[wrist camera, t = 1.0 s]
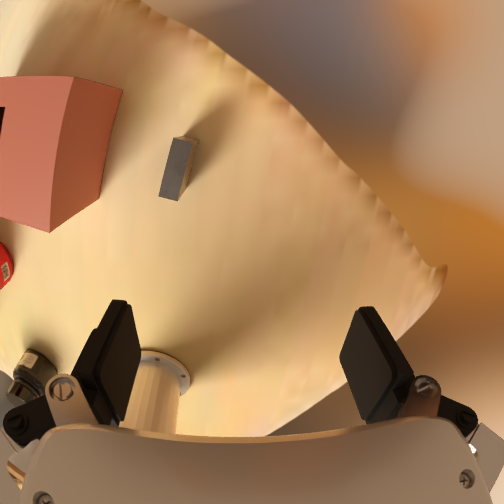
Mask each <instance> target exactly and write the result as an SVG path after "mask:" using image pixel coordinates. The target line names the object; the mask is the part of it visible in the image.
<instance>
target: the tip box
mask: <svg viewBox="0 0 504 504" xmlns="http://www.w3.org/2000/svg"><path fill="white" fill-rule="evenodd" d="M122 91H123V90H121V89H117V88H114V87H111V86H107V85H104V84H100V83H96V82H93V81H89V80H85V79H81V78H77V77H68V76H12V77H0V217H3V218H6V219H9V220H11V221H14V222H17V223H20V224H23V225H26V226H30V227H33V228H36V229H39V230H42V231H45V232H48V233H50V232H51V231H53V230H54V229H56V228H57V227H58V226H60V225H61V224H62V223H64V222H65V221H67V220H68V219H69V218H71V217H72V216H74V215H75V214H77V213H78V212H80V211H81V210H83V209H84V208H86V207H87V206H89V205H90V204H92V203H93V202H95V201H96V200H98V199H99V193H100V187H101V181H102V175H103V169H104V164H105V159H106V154H107V149H108V145H109V140H110V136H111V132H112V127H113V123H114V120H115V116H116V112H117V108H118V105H119V101H120V98H121V95H122Z"/></svg>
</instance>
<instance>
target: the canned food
mask: <svg viewBox="0 0 504 504" xmlns="http://www.w3.org/2000/svg"><path fill="white" fill-rule="evenodd" d="M12 275H13V262H12V259H11V256H10V254H9V252H8V250H7V249H6V247H5V246H4V245H3V244H2V243H1V242H0V290H1V289H2V288H3V287H4V286H5V285H6V284H7V283H8V282H9V281H10V279H11V277H12Z"/></svg>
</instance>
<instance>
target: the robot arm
mask: <svg viewBox="0 0 504 504" xmlns="http://www.w3.org/2000/svg"><path fill="white" fill-rule="evenodd" d="M340 363H341V365H342V368H343V370H344V373H345V375H346V378H347V381H348V383H349V386H350V389H351V391H352V394H353V396H354V399H355V402H356V405H357V407H358V410H359V413H360V415H361V418H362V419H363V420H365V421H366V424H367V425H361V426H356V427H350V428H344V429H338V430H331V431H324V432H316V433H307V434H297V435H285V436H268V437H208V436H190V435H178V434H175V432H176V422H177V413H178V405H179V396H182V395H183V394H185V393H186V392H187V391H188V389H189V387H190V375H189V373H188V371H187V369H186V368H185V367H184V366H183V365H182V364H181V363H180V362H179V361H177V360H176V359H174V358H172V357H170V356H168V355H166V354H163V353H159V352H155V351H141V348H140V344H139V339H138V335H137V331H136V326H135V321H134V317H133V312H132V307H131V305H130V304H127V301H125V300H112V301H111V303H110V305H109V307H108V309H107V310H106V312H105V314H104V316H103V318H102V320H101V322H100V324H99V326H98V328H97V329H96V328H95V329H93V331H92V332H91V334H90V336H89V338H88V340H87V342H86V344H85V346H84V348H83V350H82V352H81V354H80V356H79V358H78V360H77V362H76V364H75V366H74V369H73V371H72V373H71V375H68V374H59V375H56V376H54V377H52V378H51V379H50V380H49V381H48V383H47V384H46V387H45V395H43V396H40V397H38V398H36V399H34V400H32V401H29V402H27V403H25V404H23V405H20V406H18V407H16V408H13V409H11V410H10V411H9V412H8V413H7V414H6V415H5V417H4V420H3V427H2V428H1V429H0V504H492V500H491V497H490V494H489V493H490V491H491V489H492V487H493V485H494V484H495V481H496V480H497V478H498V476H499V474H500V472H501V469H502V468H503V465H504V440H503V439H502V438H501V437H499V436H498V435H497V434H496V433H494V432H493V431H492V430H490V429H489V428H488V427H487V426H485V425H484V424H483V423H482V422H481V423H480V424H478V418H477V415H476V413H475V412H474V411H473V410H472V409H471V408H469V407H467V406H465V405H463V404H460V403H458V402H456V401H454V400H451V399H449V398H447V397H445V396H442V395H441V387H440V385H439V383H438V382H437V381H436V380H435V379H434V378H432V377H430V376H427V375H419V376H416V377H415V376H414V374H413V373H414V372H413V370H412V368H411V367H410V365H409V363H408V361H407V360H406V358H405V357H404V355H403V353H402V351H401V350H400V348H399V346H398V345H397V343H396V341H395V340H394V338H393V337H392V335H391V333H390V332H389V330H388V328H387V327H386V325H385V324H384V322H383V321H382V319H381V317H380V316H379V314H378V313H377V311H376V310H375V308H374V307H372V306H367V307H360V308H359V309H358V310H356V311H355V313H354V316H353V319H352V322H351V325H350V328H349V331H348V333H347V336H346V339H345V342H344V344H343V347H342V350H341V352H340Z"/></svg>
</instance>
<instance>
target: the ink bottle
mask: <svg viewBox="0 0 504 504" xmlns="http://www.w3.org/2000/svg"><path fill="white" fill-rule="evenodd" d="M56 375H57V372H56V369H55V367H54V366H53V365H52V364H51V362H50V361H49V360H48V359H46V358H45V357H44V356H43V355H41V354H40V353H38V352H36V351H33V350H28V351H26V352H25V353H24V355H23V356H22V358H21V359H20V361H19V362H18V364H17V366H16V367H15V369H14V371H13V377H14V381H13V383H12V384H11V386H10V388H9V389H8V391H7V394H6V396H7V398H8V400H9V401H10V402H11V403H12V404H13V405H14V406H15V407H18V406H20V405H23V404H25V403H27V402H29V401H32V400H34V399H36V398H38V397H40V396H43V395H45V387H46V384H47V383H48V381H49V380H50V379H51V378H52V377H54V376H56Z"/></svg>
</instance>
